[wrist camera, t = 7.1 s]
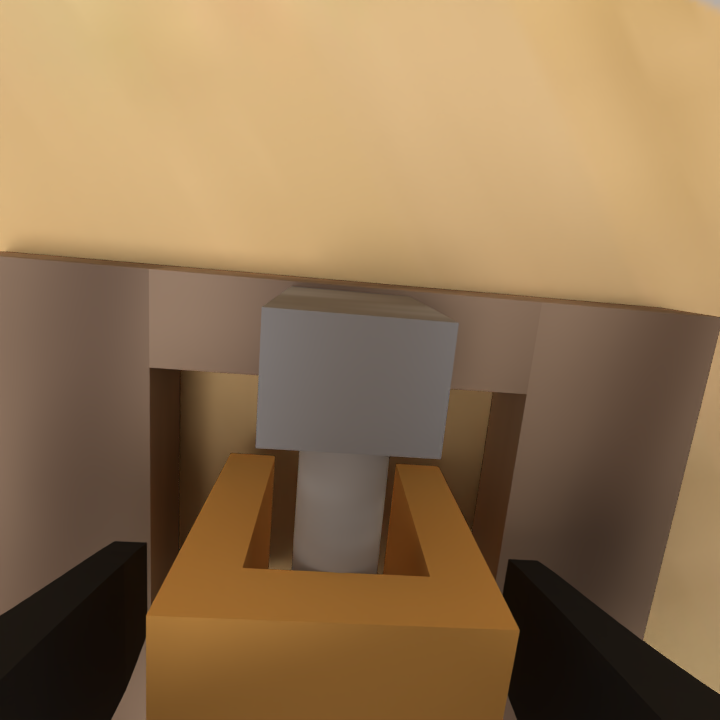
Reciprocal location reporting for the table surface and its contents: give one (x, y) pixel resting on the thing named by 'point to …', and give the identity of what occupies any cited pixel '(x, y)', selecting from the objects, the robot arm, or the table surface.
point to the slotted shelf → (196, 319)
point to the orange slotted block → (328, 617)
